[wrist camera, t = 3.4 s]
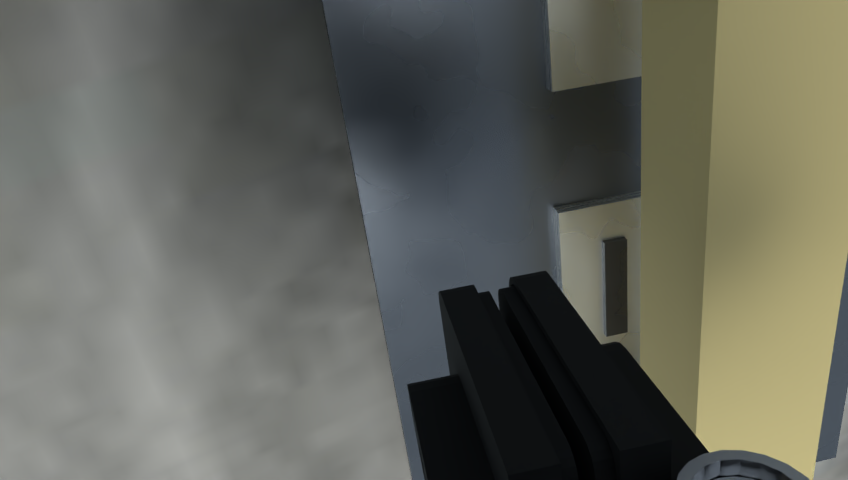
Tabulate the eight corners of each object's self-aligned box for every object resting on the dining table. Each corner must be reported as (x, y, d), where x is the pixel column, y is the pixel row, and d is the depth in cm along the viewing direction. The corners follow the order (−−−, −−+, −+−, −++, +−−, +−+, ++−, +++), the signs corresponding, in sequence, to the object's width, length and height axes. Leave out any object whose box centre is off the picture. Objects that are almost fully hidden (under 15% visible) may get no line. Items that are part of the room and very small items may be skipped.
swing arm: (588, -191, 11) (688, -240, 8) (833, -224, 11) (1010, -280, 8) (607, 609, 19) (660, 721, 16) (748, 572, 20) (823, 676, 17)
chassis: (251, -373, 12) (234, -487, 9) (945, -442, 13) (1145, -562, 10) (426, 553, 22) (447, 654, 19) (811, 459, 23) (890, 538, 20)
